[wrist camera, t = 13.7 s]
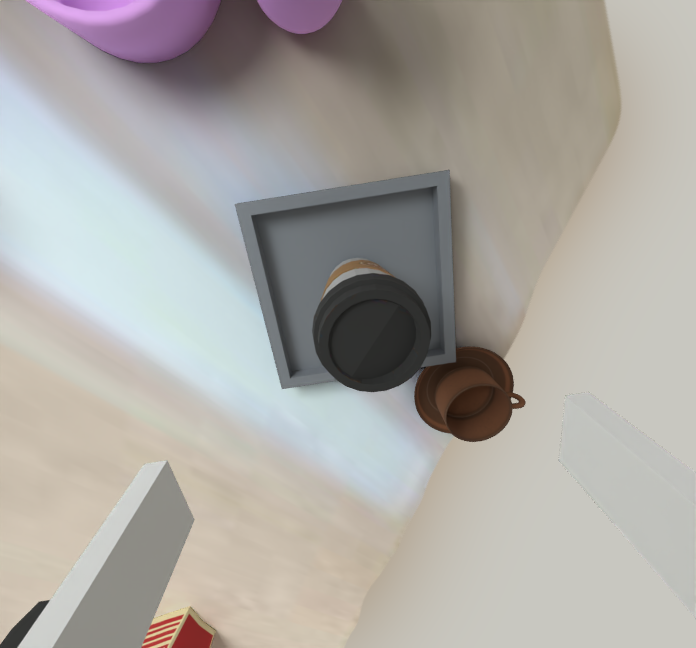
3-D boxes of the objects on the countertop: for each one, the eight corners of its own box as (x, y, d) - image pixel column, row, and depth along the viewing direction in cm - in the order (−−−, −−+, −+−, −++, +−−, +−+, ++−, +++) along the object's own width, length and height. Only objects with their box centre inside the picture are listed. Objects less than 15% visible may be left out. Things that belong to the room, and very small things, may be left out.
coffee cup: (410, 272, 35) (464, 320, 21) (369, 335, 38) (393, 416, 24) (342, 231, 33) (352, 255, 19) (304, 300, 36) (287, 366, 22)
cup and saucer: (494, 326, 39) (523, 348, 33) (513, 406, 43) (542, 437, 37) (398, 361, 40) (410, 388, 34) (426, 436, 44) (440, 471, 38)
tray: (241, 203, 33) (234, 203, 31) (441, 171, 33) (449, 169, 30) (284, 378, 40) (281, 388, 38) (448, 352, 40) (456, 362, 38)
